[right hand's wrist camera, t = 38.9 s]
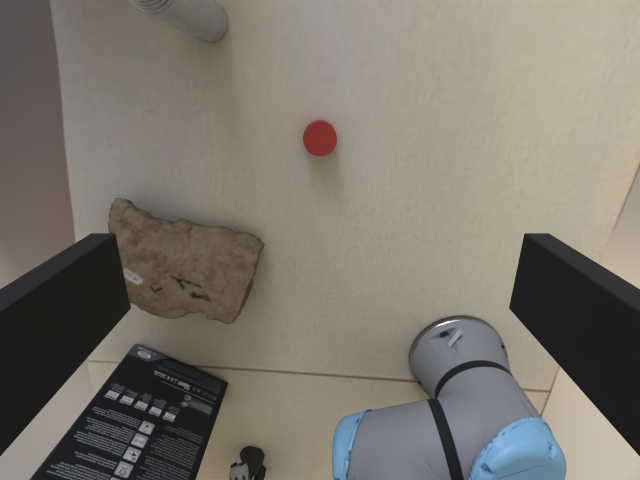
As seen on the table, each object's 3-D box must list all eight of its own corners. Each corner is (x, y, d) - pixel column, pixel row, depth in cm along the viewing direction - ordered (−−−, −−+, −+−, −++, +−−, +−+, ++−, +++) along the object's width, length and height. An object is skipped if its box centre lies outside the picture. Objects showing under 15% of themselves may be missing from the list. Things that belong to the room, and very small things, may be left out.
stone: (96, 293, 55) (81, 309, 49) (118, 194, 53) (104, 198, 47) (240, 320, 61) (241, 336, 55) (264, 231, 59) (268, 238, 53)
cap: (321, 159, 51) (321, 162, 49) (297, 138, 50) (296, 140, 48) (342, 135, 50) (343, 137, 48) (318, 113, 49) (318, 114, 47)
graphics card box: (120, 368, 64) (-12, 550, 38) (133, 337, 62) (2, 509, 36) (215, 405, 67) (150, 597, 41) (230, 377, 64) (173, 562, 39)
